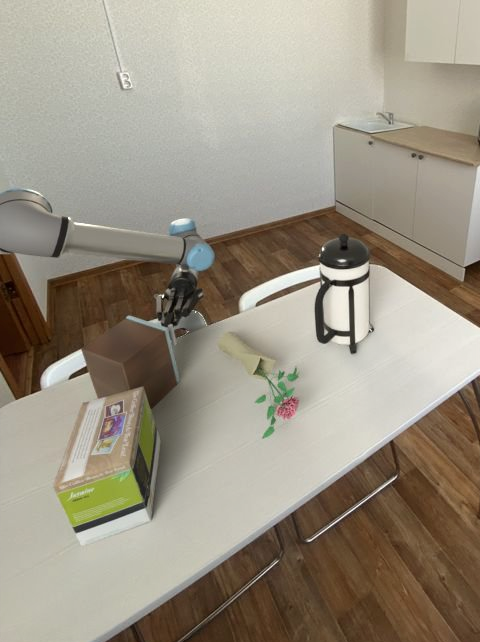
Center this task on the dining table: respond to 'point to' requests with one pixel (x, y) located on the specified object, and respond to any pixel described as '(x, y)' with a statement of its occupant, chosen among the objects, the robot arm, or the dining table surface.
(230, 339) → the flower vase
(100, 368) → the cabinet
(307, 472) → the dining table surface
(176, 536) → the dining table surface
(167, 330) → the door
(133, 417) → the tea box
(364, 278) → the coffee press
